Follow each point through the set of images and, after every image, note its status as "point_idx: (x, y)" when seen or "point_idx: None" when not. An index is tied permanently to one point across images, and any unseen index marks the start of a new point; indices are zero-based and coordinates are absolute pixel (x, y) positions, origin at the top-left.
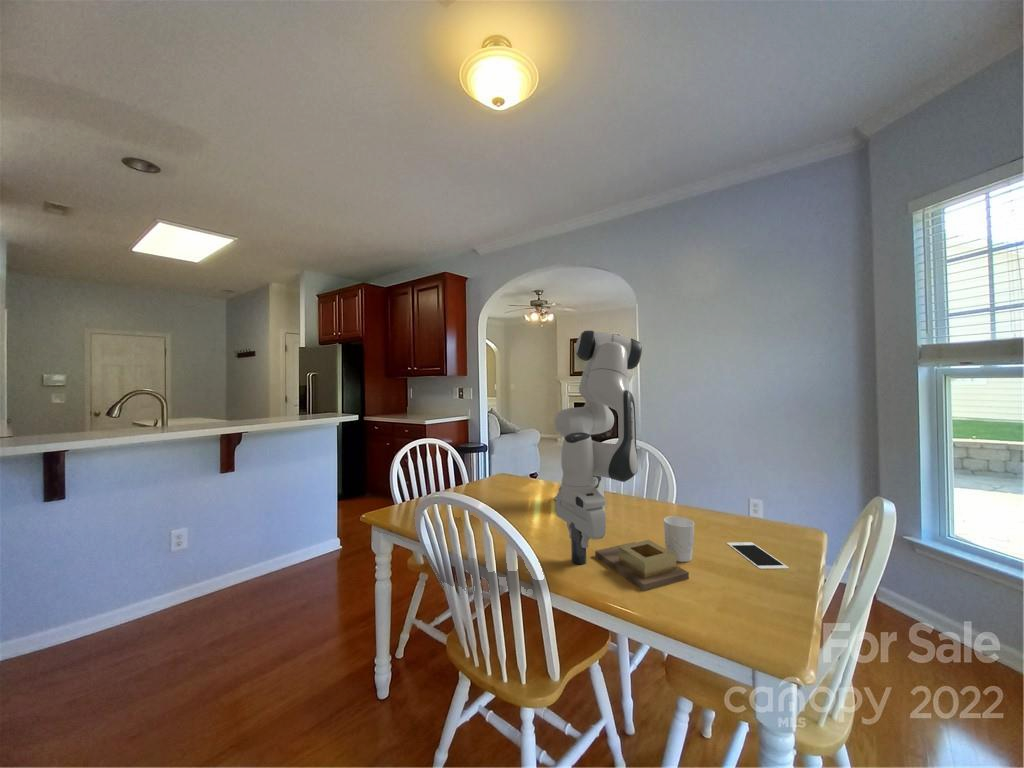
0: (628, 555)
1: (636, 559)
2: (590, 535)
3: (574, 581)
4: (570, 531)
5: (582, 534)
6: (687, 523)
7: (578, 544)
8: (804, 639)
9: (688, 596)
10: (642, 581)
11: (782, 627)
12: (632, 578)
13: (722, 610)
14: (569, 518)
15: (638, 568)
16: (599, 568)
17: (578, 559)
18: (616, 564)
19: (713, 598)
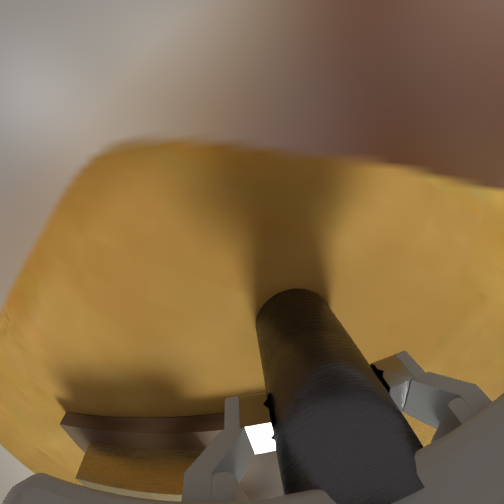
0: (145, 483)
1: (107, 480)
2: (38, 490)
3: (102, 235)
4: (422, 387)
5: (213, 482)
6: None
7: (275, 388)
8: (18, 459)
9: (68, 453)
10: (74, 431)
11: (31, 464)
12: (98, 425)
13: (42, 454)
14: (465, 488)
15: (106, 459)
16: (206, 380)
17: (261, 326)
18: (180, 435)
19: (73, 470)
